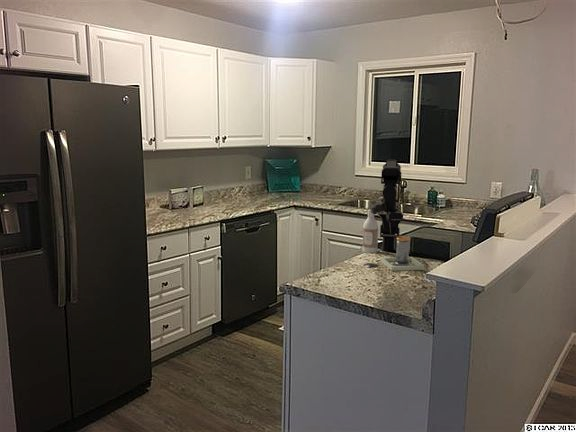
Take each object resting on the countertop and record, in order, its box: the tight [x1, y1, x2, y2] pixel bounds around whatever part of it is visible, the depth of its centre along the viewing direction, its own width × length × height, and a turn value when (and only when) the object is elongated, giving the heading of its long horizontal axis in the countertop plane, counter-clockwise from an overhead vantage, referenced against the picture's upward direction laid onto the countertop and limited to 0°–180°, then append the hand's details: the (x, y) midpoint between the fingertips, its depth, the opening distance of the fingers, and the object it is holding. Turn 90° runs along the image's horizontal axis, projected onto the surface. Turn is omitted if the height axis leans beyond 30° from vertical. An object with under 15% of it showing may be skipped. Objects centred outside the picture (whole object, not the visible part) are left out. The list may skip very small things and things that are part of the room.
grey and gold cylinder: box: [394, 235, 411, 266], centre depth 192 cm, size 6×6×12 cm
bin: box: [380, 256, 425, 271], centre depth 193 cm, size 14×14×2 cm
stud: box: [363, 262, 379, 269], centre depth 193 cm, size 6×6×1 cm
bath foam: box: [362, 209, 379, 254], centre depth 217 cm, size 7×7×20 cm
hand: (388, 232), depth 201 cm, fingers open, 9 cm apart
